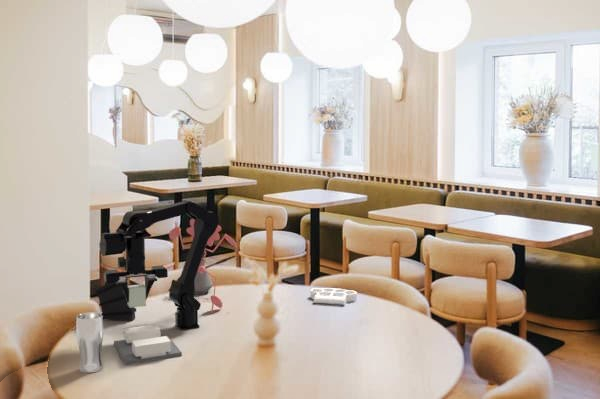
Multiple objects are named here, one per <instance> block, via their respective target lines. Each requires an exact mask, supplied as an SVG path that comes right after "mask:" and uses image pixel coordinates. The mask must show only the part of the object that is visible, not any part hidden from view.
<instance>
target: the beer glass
mask: <svg viewBox="0 0 600 399" xmlns="http://www.w3.org/2000/svg"><path fill="white" fill-rule="evenodd" d="M101 313H102V312H95V311H92V312H83V313H79V314H78V315H77V316H76V325H75V331H76V332H75V334H76V341H77V345H78V349H79V350H78V351H79V355H80V361H79V362H80V363H79V364H80V365H79V369H78V370H79V372H81V373H84V374H93V373H98V372H100V371H101V370H102V369H104V368H103V367H104V365H103V362H102V347H103V342H104V322H103V321H104V320H103V319H102V314H101Z"/></svg>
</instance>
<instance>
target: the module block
mask: <svg viewBox="0 0 600 399" xmlns="http://www.w3.org/2000/svg"><path fill="white" fill-rule="evenodd" d="M128 294H129V302H127V304H128V306H129V307H130V308H132V307H134V308H140V307H146V306H147V299H146V287H145V284H143V283H141V284H133V285H132V284H131V285H130V284H129V286H128Z"/></svg>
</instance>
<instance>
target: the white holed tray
mask: <svg viewBox="0 0 600 399" xmlns="http://www.w3.org/2000/svg"><path fill="white" fill-rule="evenodd" d="M357 296H358V293H357V291H355V290H353V289H350V290H349V289H345V288H335V287H334V288H333V287H325V288H322V287H321V288H320V287H315V288H311V289H310V296H309V297H311V298H312V300H313V303H314V304H325V305H326V304H328V305H337V306H338V305H340V306H346V304H347V303H349V302H348V301H354V300H356V299H357ZM311 298H310V299H311ZM356 301H357V300H356ZM354 302H355V301H354Z"/></svg>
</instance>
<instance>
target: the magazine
mask: <svg viewBox="0 0 600 399" xmlns="http://www.w3.org/2000/svg"><path fill="white" fill-rule="evenodd" d="M128 279H129V278H126V279H125V280H126V282H127V286H130V284H129V282H128ZM94 291H95V292H94V296H96V297H97V298H98V300H99V304H98V305H99V306H100V307H101V312H100V313H101V314H102V320H103V319H111V320H110V321H120V320H121V322H122V321H125V322H132V321H134V320H135V319H136V312H137V307H132V308H130V307H129V306H128V304H127V300H126V297H125V295H124V292H123V289H122V287H121V285H117V284H116V283H105V284H103V285H101V286H98V287H97V288H95V289H94Z"/></svg>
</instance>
